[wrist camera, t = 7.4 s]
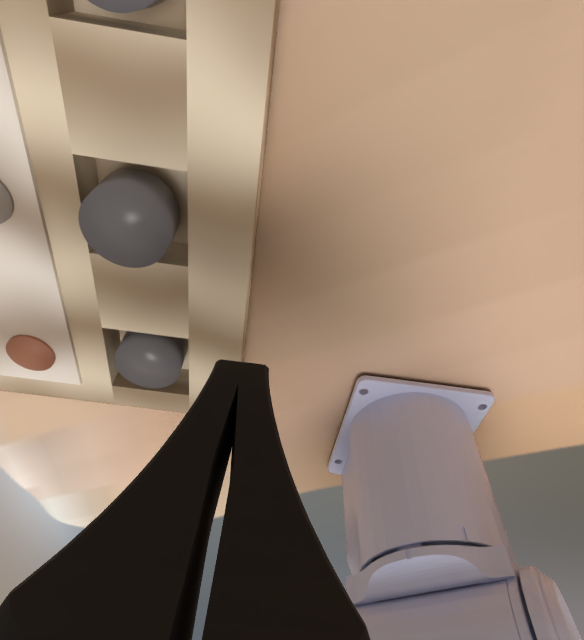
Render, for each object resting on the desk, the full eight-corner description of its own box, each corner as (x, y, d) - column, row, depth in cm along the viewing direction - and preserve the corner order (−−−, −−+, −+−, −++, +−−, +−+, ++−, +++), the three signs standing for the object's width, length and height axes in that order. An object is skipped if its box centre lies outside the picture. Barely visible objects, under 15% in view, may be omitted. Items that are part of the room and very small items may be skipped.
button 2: (187, 368, 24) (180, 391, 23) (128, 360, 24) (117, 384, 23) (187, 323, 22) (179, 346, 21) (122, 314, 22) (110, 337, 21)
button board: (240, 386, 26) (233, 425, 24) (14, 358, 25) (-14, 395, 23) (299, -198, 12) (297, -236, 9) (-220, -305, 11) (-353, -373, 9)
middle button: (181, 251, 18) (170, 273, 17) (102, 239, 18) (85, 261, 17) (179, 175, 16) (167, 194, 15) (91, 162, 16) (71, 180, 15)
